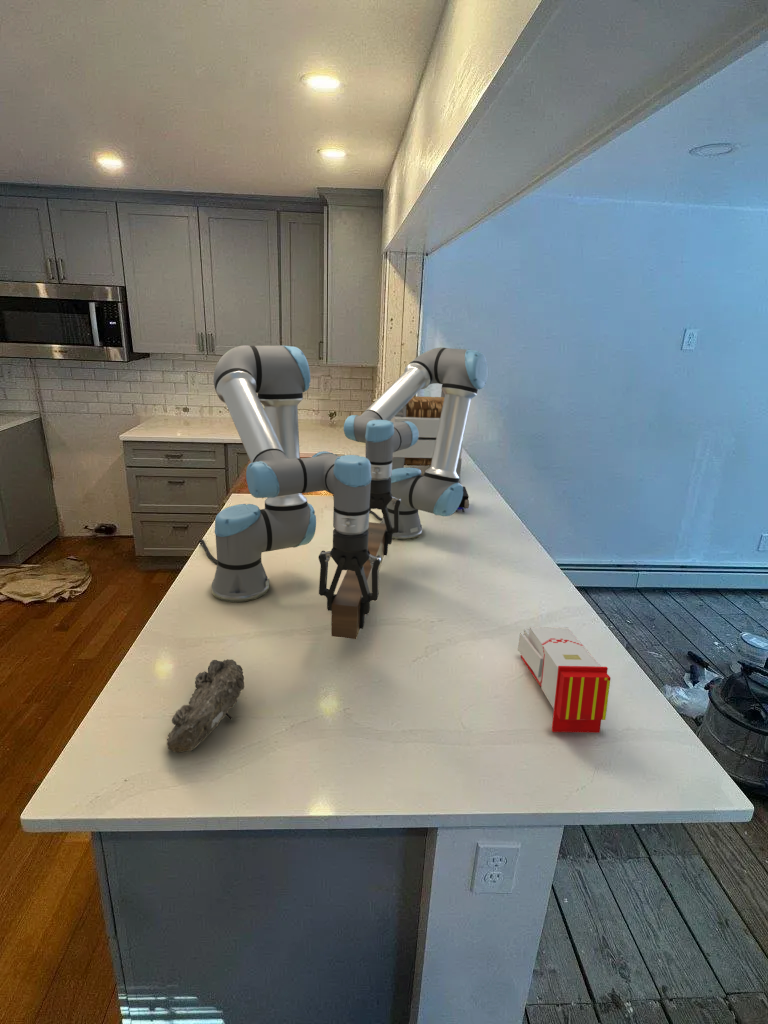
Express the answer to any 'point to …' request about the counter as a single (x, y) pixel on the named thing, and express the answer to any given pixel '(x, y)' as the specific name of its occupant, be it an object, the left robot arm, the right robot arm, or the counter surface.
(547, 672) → the toy
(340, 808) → the counter surface
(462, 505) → the figurine character
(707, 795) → the counter surface
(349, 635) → the bar
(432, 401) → the white wooden crate
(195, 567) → the counter surface
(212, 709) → the fossil
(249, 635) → the counter surface
